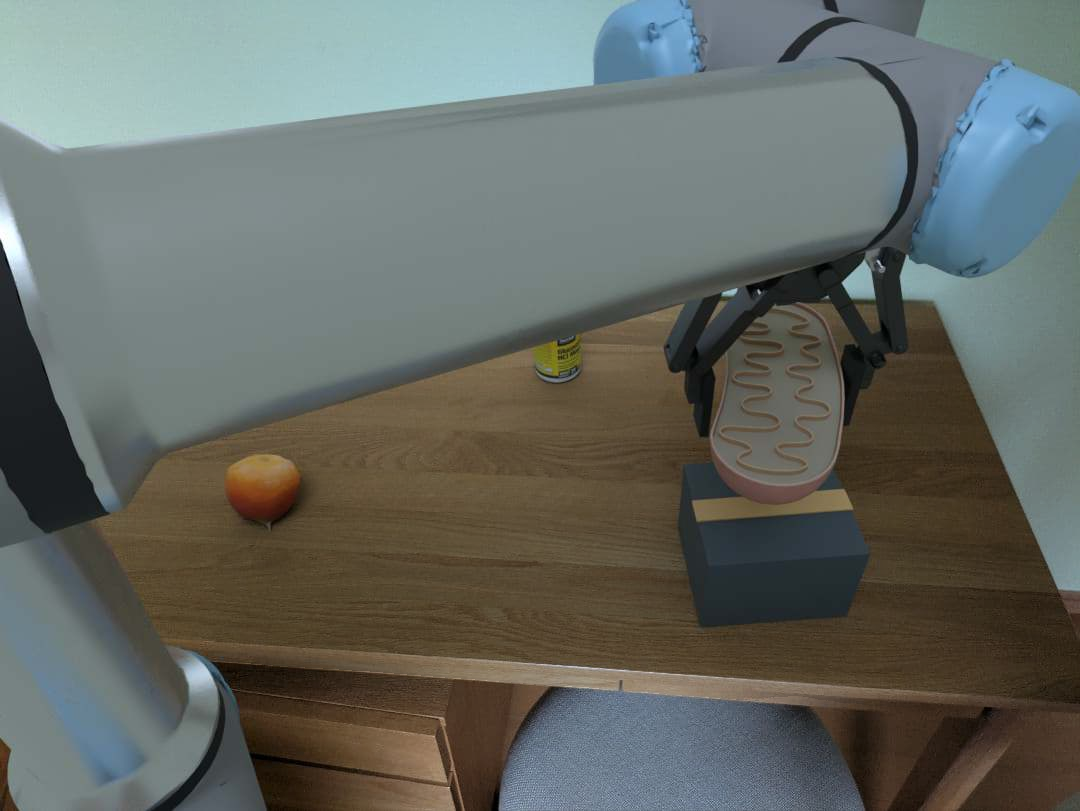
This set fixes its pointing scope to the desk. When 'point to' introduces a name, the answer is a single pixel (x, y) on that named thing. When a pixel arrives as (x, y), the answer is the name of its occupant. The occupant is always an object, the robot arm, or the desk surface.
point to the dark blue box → (768, 552)
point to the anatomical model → (780, 407)
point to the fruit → (262, 487)
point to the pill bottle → (558, 359)
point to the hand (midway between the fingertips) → (769, 420)
